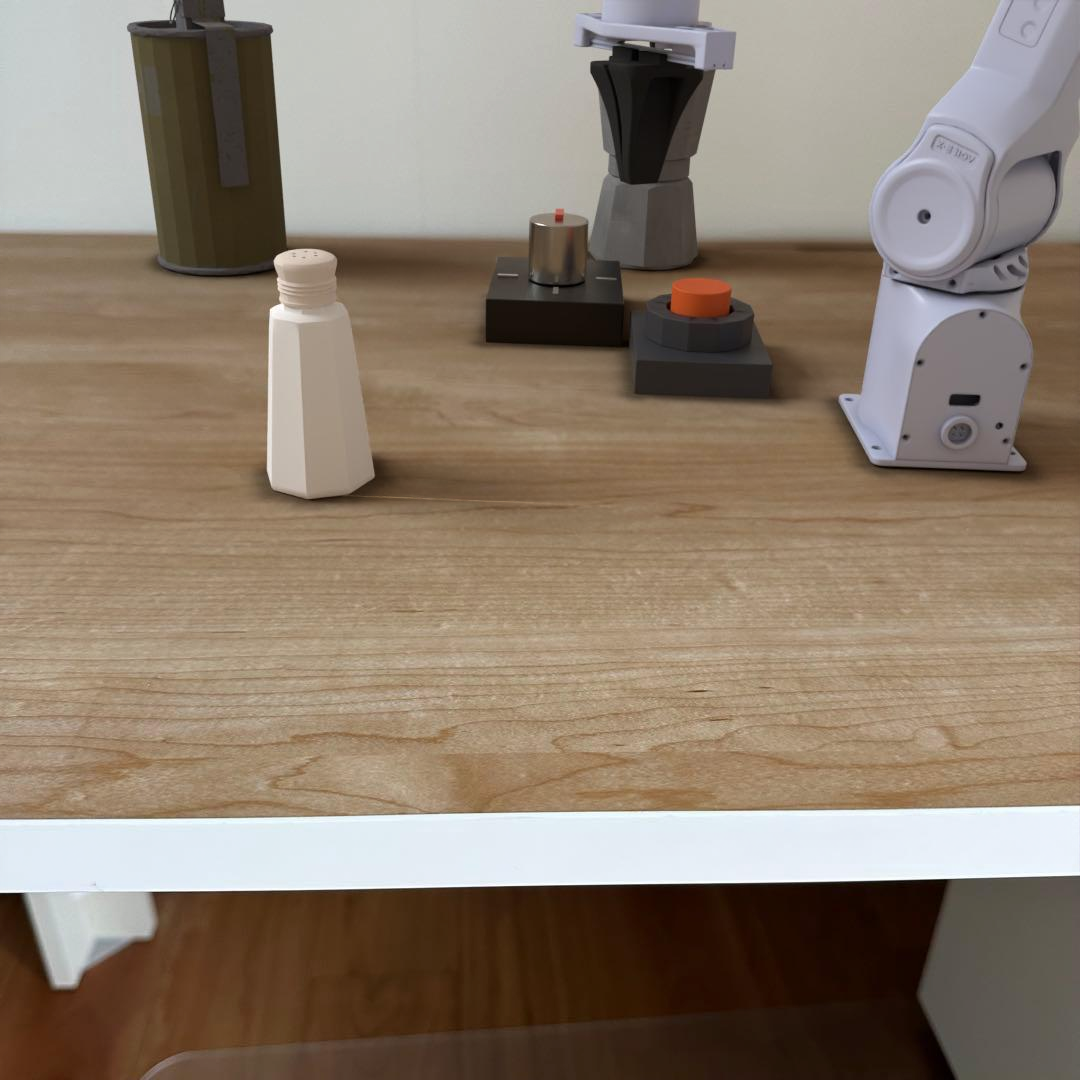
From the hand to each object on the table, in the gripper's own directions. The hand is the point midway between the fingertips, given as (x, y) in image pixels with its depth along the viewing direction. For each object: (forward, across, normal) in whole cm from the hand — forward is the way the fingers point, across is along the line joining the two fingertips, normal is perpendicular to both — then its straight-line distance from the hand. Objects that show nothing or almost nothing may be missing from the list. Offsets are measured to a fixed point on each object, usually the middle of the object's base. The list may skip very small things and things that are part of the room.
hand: (638, 182), depth 71 cm
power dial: (+7, +6, +2) cm, 10 cm away
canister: (+11, +31, +19) cm, 38 cm away
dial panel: (+10, +6, +2) cm, 12 cm away
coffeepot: (+11, +20, -14) cm, 26 cm away
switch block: (+10, -6, -1) cm, 12 cm away
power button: (+7, -6, -1) cm, 9 cm away
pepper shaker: (+11, -12, +25) cm, 30 cm away
